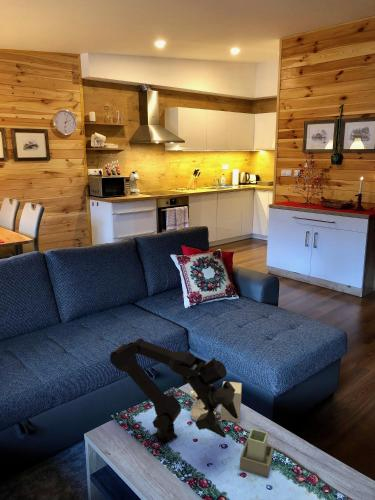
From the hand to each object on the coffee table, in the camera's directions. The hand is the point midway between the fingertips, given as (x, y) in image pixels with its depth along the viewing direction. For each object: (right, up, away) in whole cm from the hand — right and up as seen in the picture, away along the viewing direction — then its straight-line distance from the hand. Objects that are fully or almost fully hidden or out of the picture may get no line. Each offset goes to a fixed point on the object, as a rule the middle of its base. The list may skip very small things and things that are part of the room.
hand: (231, 427), depth 132 cm
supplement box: (+2, -6, +23) cm, 24 cm away
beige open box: (+8, -11, 0) cm, 14 cm away
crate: (+8, -12, 0) cm, 15 cm away
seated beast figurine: (-9, -6, +23) cm, 26 cm away
